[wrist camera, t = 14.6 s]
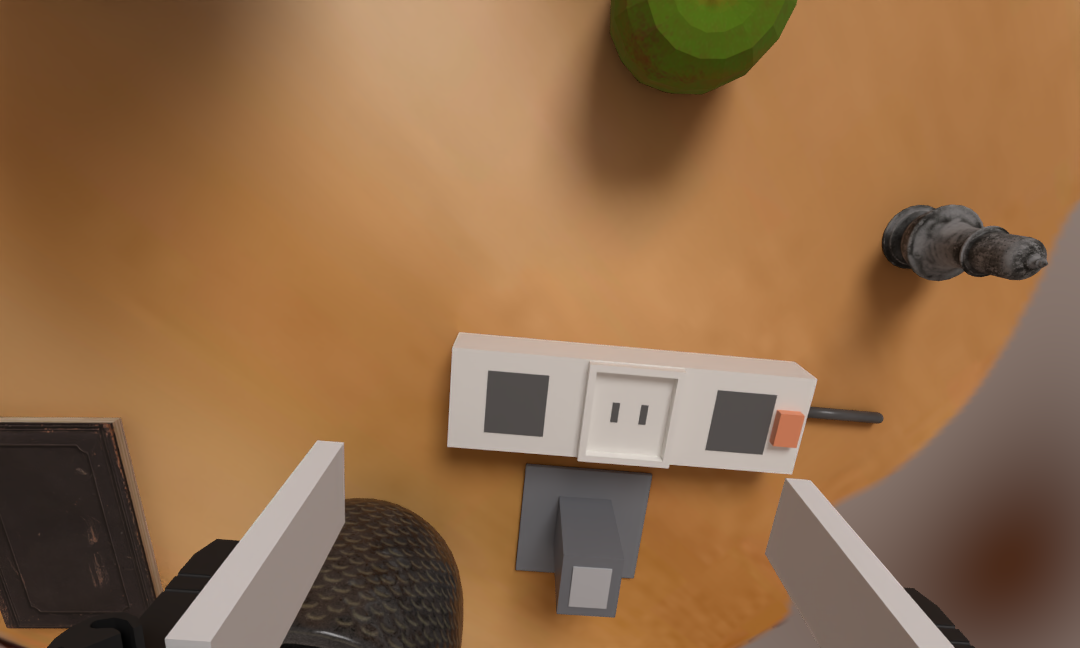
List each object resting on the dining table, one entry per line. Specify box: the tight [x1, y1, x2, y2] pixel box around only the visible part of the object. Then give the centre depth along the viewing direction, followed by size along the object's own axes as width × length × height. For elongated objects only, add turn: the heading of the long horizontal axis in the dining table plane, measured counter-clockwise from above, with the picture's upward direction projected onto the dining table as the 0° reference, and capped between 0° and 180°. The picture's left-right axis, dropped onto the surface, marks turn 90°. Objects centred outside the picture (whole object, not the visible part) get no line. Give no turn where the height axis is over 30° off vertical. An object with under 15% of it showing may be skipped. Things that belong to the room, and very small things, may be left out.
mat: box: [516, 464, 652, 578], centre depth 52 cm, size 12×12×1 cm
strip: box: [447, 332, 883, 474], centre depth 46 cm, size 39×9×5 cm, turn 84°
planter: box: [280, 498, 463, 648], centre depth 44 cm, size 20×20×19 cm
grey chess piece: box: [882, 205, 1048, 281], centre depth 38 cm, size 6×6×12 cm
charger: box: [553, 496, 624, 617], centre depth 48 cm, size 5×6×8 cm
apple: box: [610, 0, 797, 94], centre depth 34 cm, size 11×11×11 cm
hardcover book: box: [0, 417, 163, 628], centre depth 51 cm, size 16×23×2 cm
